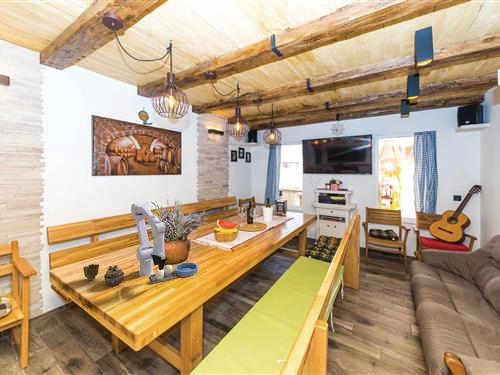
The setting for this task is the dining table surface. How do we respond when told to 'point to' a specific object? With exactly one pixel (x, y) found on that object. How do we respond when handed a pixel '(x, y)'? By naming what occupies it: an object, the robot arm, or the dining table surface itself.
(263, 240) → the dining table surface
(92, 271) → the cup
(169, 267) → the cylinder
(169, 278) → the tray
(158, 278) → the white rounded capsule
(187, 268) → the bowl
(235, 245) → the dining table surface
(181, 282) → the dining table surface
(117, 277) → the cupcake
